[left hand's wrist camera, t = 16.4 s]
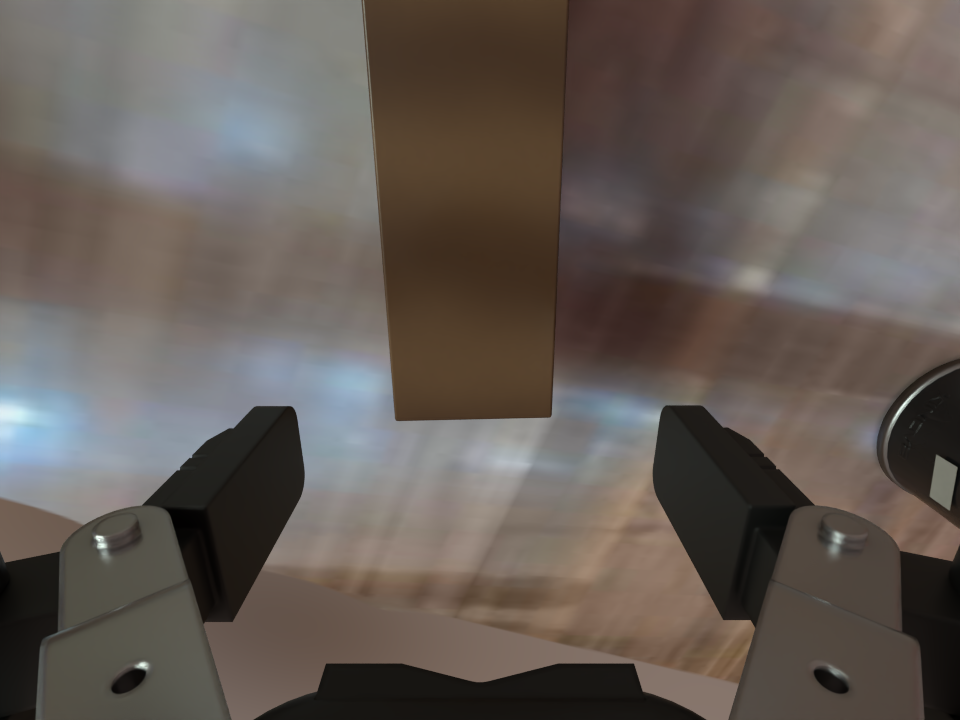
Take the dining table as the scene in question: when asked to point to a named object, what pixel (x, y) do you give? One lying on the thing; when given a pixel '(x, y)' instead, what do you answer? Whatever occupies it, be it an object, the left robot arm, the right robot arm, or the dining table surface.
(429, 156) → the box
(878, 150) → the dining table surface
